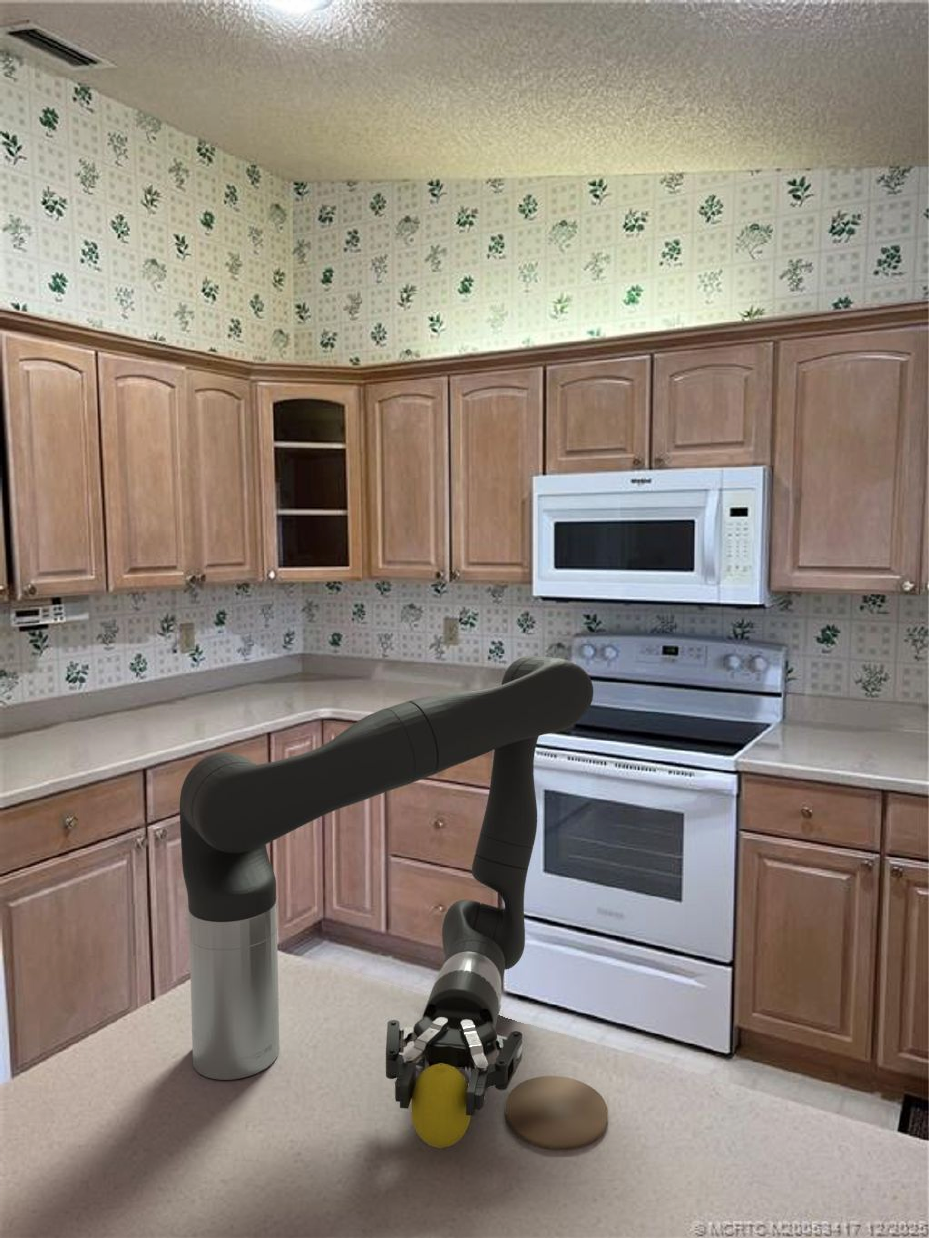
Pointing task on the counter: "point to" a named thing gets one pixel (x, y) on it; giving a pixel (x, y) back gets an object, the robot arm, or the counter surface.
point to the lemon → (440, 1105)
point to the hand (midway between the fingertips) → (437, 1102)
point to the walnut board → (556, 1112)
